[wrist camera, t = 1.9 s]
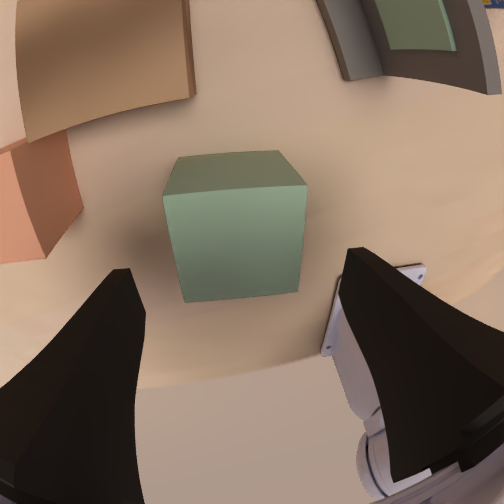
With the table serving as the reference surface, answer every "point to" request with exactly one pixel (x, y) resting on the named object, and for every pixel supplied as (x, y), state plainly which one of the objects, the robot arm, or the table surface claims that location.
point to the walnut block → (99, 59)
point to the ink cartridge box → (493, 4)
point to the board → (415, 41)
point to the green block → (236, 224)
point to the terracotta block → (36, 197)
